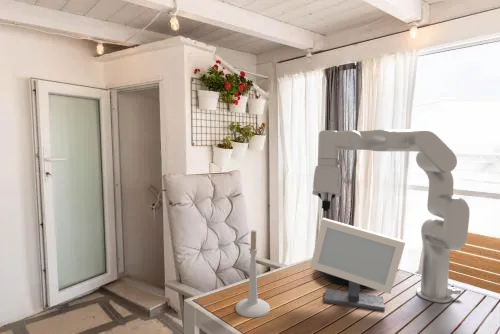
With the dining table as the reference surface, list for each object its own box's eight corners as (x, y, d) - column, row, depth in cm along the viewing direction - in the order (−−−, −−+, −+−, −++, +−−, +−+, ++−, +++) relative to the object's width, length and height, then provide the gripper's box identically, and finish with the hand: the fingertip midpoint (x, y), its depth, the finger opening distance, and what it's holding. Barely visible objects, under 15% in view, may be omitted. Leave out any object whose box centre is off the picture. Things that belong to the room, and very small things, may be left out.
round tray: (307, 278, 152) (373, 297, 134) (307, 265, 152) (374, 283, 133) (333, 260, 176) (393, 274, 158) (334, 249, 175) (393, 262, 157)
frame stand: (382, 300, 131) (385, 243, 129) (384, 311, 123) (387, 250, 121) (325, 292, 138) (327, 238, 136) (324, 302, 129) (325, 244, 127)
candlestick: (273, 303, 128) (274, 226, 126) (265, 320, 116) (266, 236, 113) (241, 298, 132) (242, 224, 129) (230, 314, 119) (231, 232, 117)
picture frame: (389, 290, 124) (404, 240, 121) (390, 294, 121) (405, 242, 118) (310, 264, 132) (322, 217, 129) (309, 267, 129) (322, 219, 126)
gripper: (348, 163, 127) (346, 210, 128) (309, 161, 131) (307, 207, 133) (348, 164, 120) (345, 214, 121) (306, 162, 124) (305, 211, 126)
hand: (325, 210), depth 127 cm, fingers closed
